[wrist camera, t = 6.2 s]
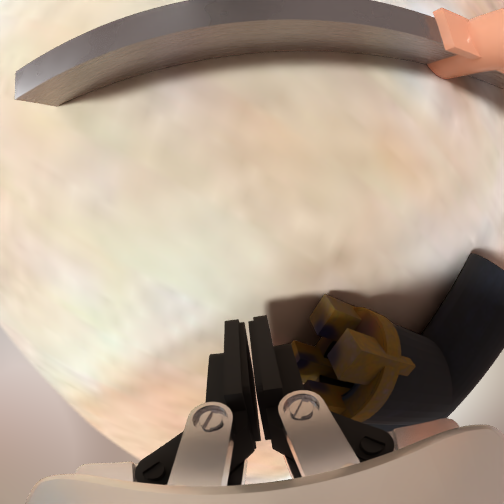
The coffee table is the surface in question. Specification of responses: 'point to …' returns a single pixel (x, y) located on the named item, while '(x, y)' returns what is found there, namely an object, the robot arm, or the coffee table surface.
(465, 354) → the pipe connector
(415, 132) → the coffee table surface
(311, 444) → the robot arm
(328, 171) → the coffee table surface
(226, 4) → the guide rail
